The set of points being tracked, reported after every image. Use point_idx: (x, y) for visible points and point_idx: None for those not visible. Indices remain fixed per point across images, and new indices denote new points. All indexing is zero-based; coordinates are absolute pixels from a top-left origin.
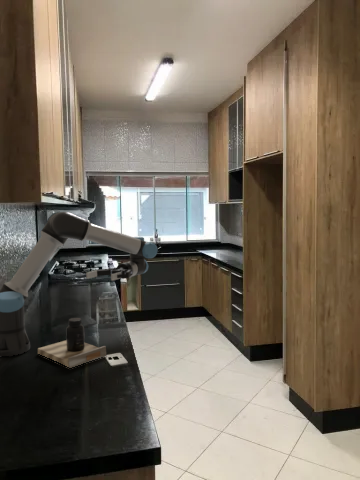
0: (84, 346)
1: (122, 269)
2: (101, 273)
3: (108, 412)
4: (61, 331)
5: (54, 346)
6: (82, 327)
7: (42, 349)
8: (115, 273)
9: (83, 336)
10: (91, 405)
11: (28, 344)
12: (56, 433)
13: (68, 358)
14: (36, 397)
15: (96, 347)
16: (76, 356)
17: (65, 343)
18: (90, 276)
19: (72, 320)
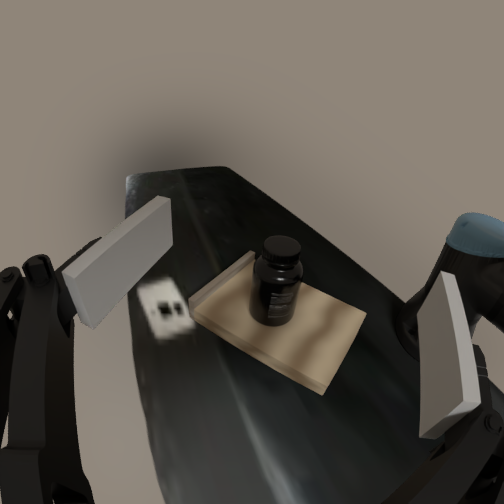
0: (249, 309)
1: (6, 452)
2: (410, 485)
3: (163, 195)
4: None
5: (337, 325)
6: (255, 262)
7: (350, 308)
8: (129, 221)
9: (251, 282)
10: (183, 202)
11: (406, 332)
12: (205, 180)
13: (254, 253)
14: (255, 213)
15: (219, 321)
16: (241, 257)
17: (322, 345)
18: (426, 331)
19: (283, 238)
